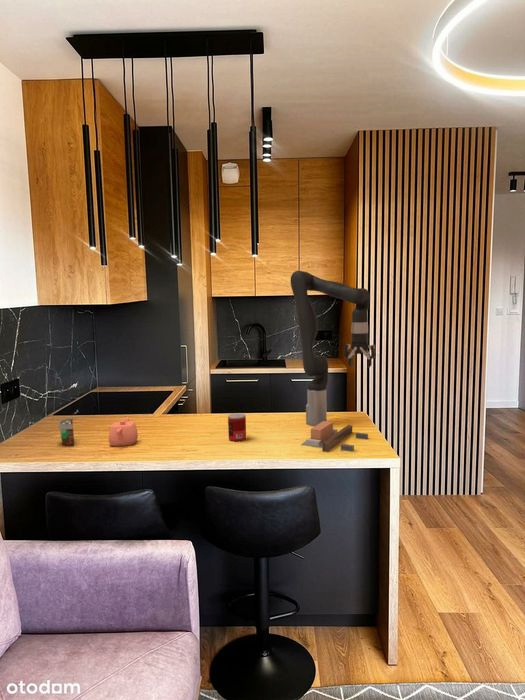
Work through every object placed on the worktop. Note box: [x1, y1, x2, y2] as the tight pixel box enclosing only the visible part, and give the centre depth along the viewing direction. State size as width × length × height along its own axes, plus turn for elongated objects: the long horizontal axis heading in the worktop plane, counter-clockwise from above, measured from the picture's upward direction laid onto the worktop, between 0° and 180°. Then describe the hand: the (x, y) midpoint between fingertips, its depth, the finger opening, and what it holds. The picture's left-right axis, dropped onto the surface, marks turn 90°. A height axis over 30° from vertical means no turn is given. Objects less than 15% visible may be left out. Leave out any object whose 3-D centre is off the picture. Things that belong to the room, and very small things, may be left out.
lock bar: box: [310, 420, 334, 443], centre depth 225 cm, size 4×14×6 cm, turn 150°
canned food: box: [227, 412, 247, 443], centre depth 228 cm, size 8×8×11 cm
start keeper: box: [340, 431, 369, 452], centre depth 218 cm, size 5×20×2 cm, turn 150°
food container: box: [57, 417, 75, 447], centre depth 228 cm, size 12×6×10 cm, turn 21°
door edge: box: [321, 424, 353, 453], centre depth 222 cm, size 2×30×4 cm, turn 151°
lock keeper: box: [300, 427, 338, 449], centre depth 226 cm, size 10×22×2 cm, turn 150°
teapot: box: [108, 416, 139, 447], centre depth 227 cm, size 12×18×10 cm, turn 1°
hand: (359, 366), depth 238 cm, fingers open, 8 cm apart
